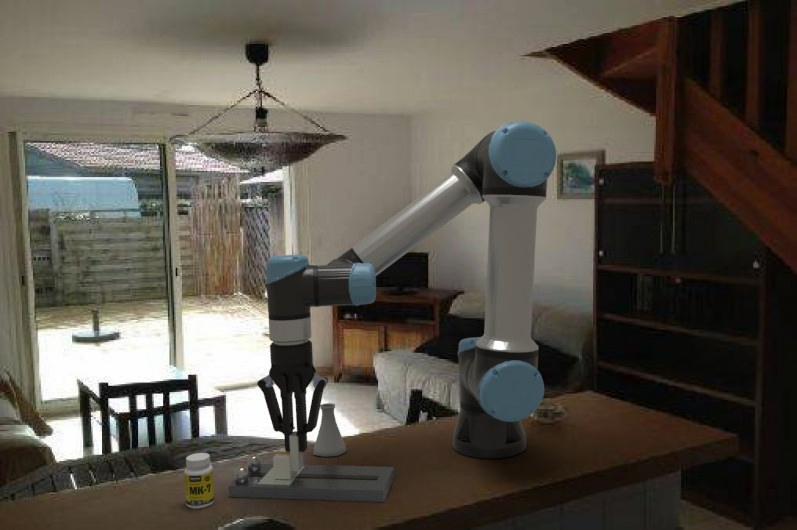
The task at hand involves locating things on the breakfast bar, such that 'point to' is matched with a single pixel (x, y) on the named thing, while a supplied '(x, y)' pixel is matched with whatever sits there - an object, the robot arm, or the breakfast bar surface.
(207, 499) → the supplement bottle
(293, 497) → the console
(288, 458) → the fader
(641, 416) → the breakfast bar surface
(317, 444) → the flask
